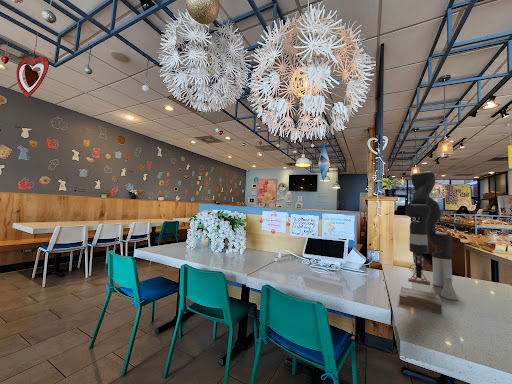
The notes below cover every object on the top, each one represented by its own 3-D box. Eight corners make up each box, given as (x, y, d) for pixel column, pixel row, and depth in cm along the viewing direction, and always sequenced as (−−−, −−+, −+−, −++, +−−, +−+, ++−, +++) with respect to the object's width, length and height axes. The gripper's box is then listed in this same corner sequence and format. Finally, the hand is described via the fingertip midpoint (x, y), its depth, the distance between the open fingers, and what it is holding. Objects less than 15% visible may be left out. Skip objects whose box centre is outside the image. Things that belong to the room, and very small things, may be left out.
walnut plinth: (401, 294, 121) (401, 286, 121) (438, 302, 111) (438, 294, 112) (399, 303, 108) (399, 295, 108) (441, 314, 99) (441, 305, 99)
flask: (461, 301, 114) (460, 281, 114) (445, 299, 115) (445, 280, 116) (452, 295, 121) (451, 277, 122) (437, 294, 122) (436, 276, 123)
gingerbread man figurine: (408, 281, 112) (407, 257, 112) (408, 279, 115) (408, 256, 116) (430, 285, 106) (429, 260, 107) (430, 283, 109) (429, 259, 110)
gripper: (409, 240, 119) (410, 273, 118) (409, 243, 109) (409, 279, 108) (427, 242, 115) (427, 276, 114) (428, 245, 104) (428, 282, 103)
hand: (418, 277), depth 111 cm, fingers closed on gingerbread man figurine, 1 cm apart
